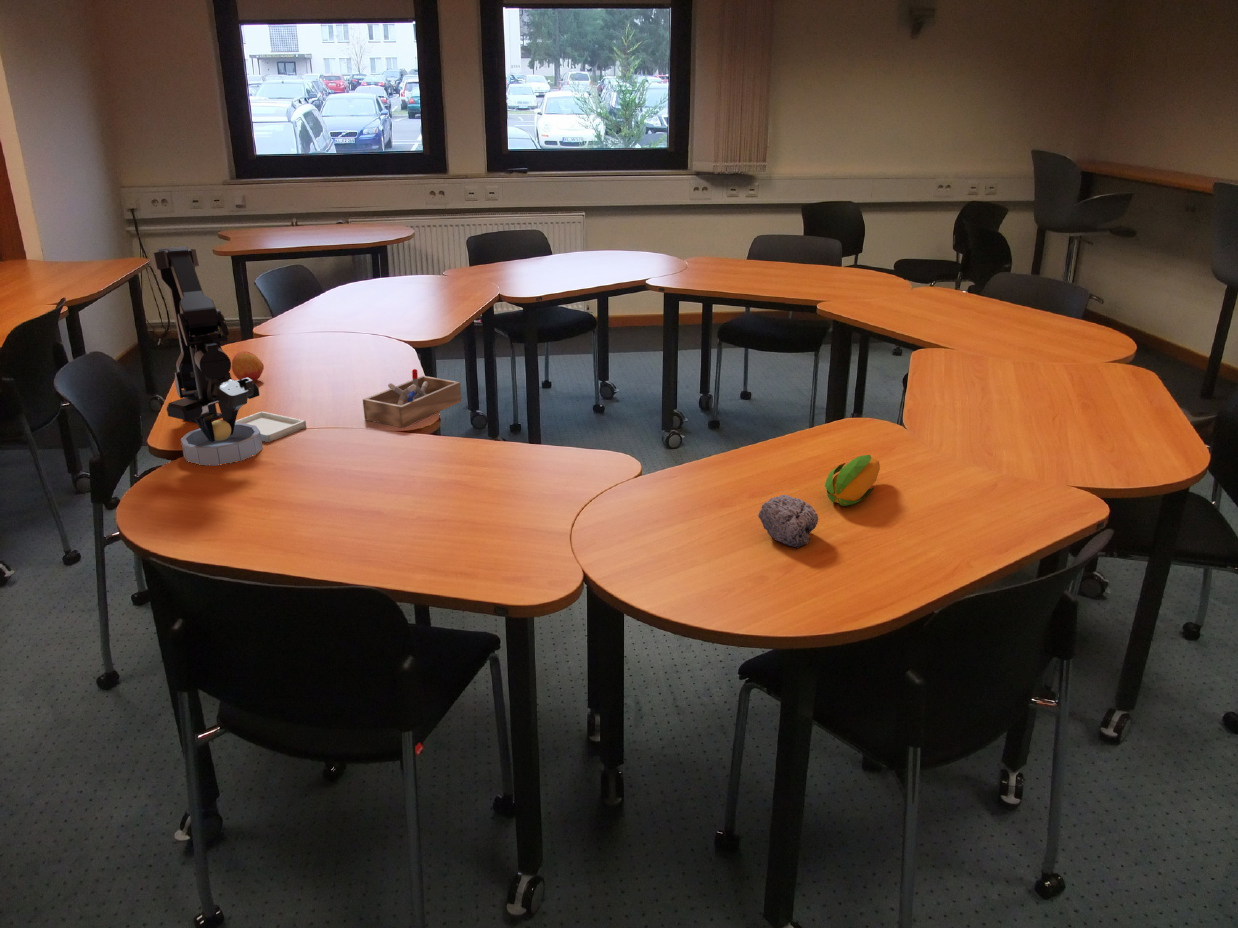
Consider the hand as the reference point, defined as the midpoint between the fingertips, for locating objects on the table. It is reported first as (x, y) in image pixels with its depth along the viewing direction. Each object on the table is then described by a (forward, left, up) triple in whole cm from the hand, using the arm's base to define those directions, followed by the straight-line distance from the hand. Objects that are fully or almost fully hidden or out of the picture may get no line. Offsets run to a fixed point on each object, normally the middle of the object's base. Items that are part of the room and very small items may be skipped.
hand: (221, 437), depth 191 cm
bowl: (0, 0, -3) cm, 3 cm away
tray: (-3, +14, -3) cm, 15 cm away
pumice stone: (+119, +17, -4) cm, 120 cm away
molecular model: (+18, +40, -3) cm, 44 cm away
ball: (0, 0, +2) cm, 2 cm away
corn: (+124, +42, -4) cm, 131 cm away
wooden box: (+18, +40, -3) cm, 44 cm away
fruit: (-36, +38, -3) cm, 53 cm away
